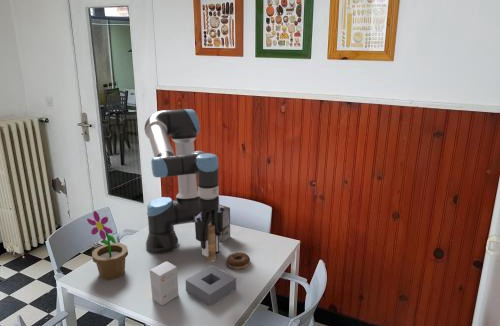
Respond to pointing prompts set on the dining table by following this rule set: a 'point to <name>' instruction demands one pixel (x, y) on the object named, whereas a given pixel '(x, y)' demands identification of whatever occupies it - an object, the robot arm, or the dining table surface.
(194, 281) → the socket block
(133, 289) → the dining table surface
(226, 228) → the coffee box
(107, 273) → the flowerpot
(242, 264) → the donut
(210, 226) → the oak peg
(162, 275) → the small box
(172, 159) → the robot arm
